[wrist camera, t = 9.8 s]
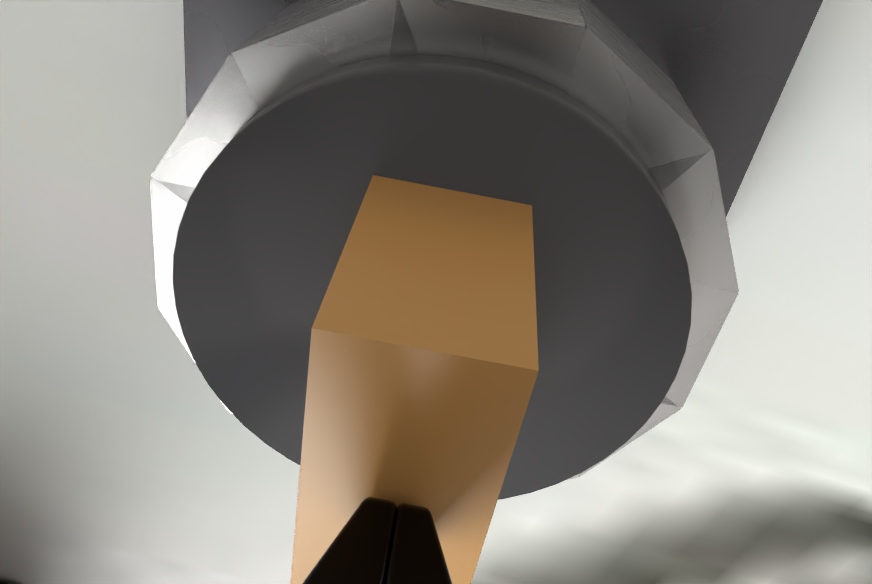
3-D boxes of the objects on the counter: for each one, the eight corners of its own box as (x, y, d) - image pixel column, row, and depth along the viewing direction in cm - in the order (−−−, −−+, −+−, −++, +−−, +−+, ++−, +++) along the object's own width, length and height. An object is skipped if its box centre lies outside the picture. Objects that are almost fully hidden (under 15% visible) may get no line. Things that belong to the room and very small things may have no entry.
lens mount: (212, 331, 21) (137, 459, 17) (208, -144, 14) (82, -128, 10) (616, 409, 21) (641, 554, 17) (799, -25, 14) (915, 39, 10)
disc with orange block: (228, 367, 18) (87, 640, 12) (229, -22, 13) (-18, 117, 7) (589, 435, 18) (626, 738, 12) (732, 76, 13) (917, 295, 7)
